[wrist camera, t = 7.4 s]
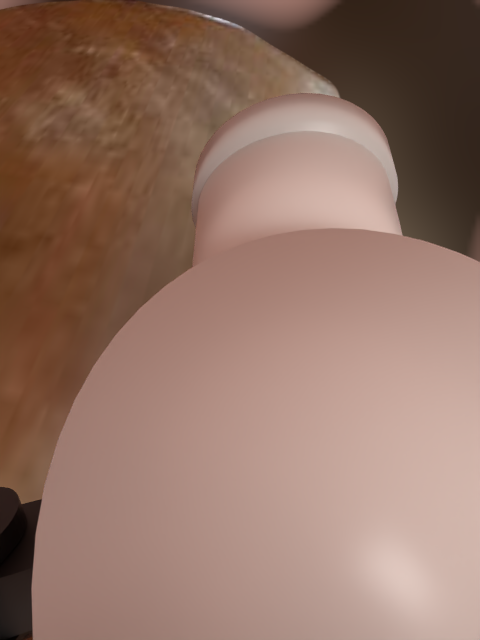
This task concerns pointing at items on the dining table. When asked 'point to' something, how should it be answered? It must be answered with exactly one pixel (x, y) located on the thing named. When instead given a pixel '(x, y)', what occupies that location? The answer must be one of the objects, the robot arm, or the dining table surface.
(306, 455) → the elbow
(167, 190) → the dining table surface
